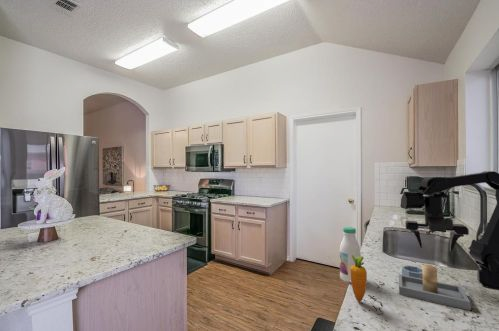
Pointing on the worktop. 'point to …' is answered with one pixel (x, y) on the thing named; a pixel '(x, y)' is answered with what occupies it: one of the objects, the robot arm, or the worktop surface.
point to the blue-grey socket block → (412, 271)
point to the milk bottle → (348, 252)
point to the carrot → (358, 278)
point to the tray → (445, 294)
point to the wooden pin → (429, 278)
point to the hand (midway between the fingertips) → (435, 249)
